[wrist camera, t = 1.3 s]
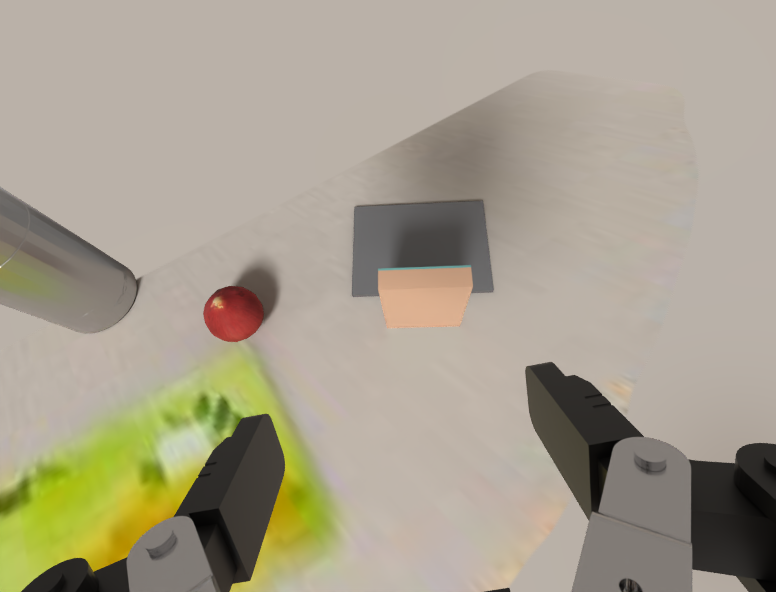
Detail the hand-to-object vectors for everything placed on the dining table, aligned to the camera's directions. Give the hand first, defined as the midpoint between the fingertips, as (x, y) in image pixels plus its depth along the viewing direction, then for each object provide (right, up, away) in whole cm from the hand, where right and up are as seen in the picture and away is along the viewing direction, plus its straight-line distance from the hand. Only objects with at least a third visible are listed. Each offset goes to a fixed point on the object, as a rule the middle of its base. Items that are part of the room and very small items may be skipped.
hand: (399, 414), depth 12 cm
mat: (+3, +9, +35) cm, 36 cm away
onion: (-16, 0, +33) cm, 36 cm away
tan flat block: (+4, +1, +31) cm, 31 cm away
